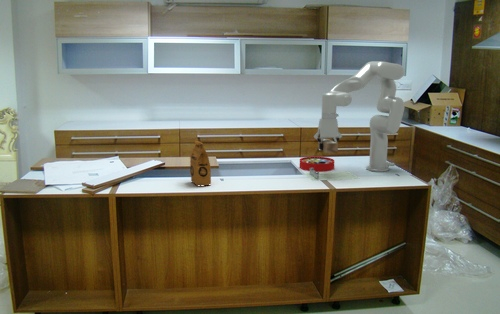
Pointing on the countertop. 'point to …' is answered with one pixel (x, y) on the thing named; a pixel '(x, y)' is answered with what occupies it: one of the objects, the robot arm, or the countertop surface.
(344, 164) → the countertop surface
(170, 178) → the countertop surface
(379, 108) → the robot arm
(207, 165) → the coffee package
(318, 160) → the toy clock
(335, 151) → the brown rectangular block
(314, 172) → the screw rail
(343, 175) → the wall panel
